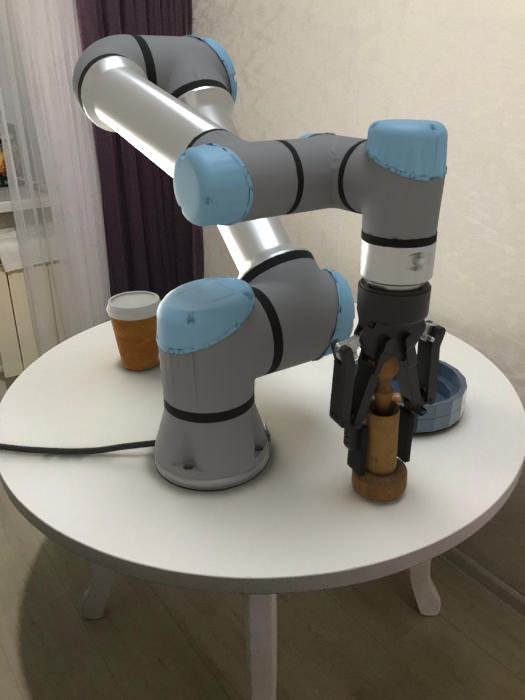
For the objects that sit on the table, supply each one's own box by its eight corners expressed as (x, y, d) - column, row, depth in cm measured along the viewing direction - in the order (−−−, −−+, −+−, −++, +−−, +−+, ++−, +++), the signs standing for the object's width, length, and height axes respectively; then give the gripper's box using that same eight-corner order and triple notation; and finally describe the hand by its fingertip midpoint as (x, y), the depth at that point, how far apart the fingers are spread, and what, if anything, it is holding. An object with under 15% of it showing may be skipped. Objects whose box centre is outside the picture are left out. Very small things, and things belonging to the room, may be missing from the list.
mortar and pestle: (395, 463, 75) (404, 337, 67) (414, 497, 70) (426, 365, 61) (345, 470, 75) (347, 344, 66) (360, 505, 69) (364, 372, 60)
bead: (396, 407, 86) (388, 393, 87) (392, 413, 88) (384, 399, 89) (410, 401, 87) (402, 387, 88) (405, 407, 89) (397, 393, 90)
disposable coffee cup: (103, 362, 105) (94, 298, 100) (149, 346, 111) (143, 286, 106) (130, 380, 99) (122, 313, 94) (178, 363, 104) (173, 299, 99)
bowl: (388, 449, 80) (391, 417, 78) (324, 392, 95) (325, 364, 92) (488, 420, 87) (493, 390, 84) (413, 370, 101) (416, 344, 99)
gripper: (335, 304, 55) (326, 502, 65) (490, 277, 62) (460, 460, 71) (298, 281, 61) (295, 465, 71) (442, 258, 68) (421, 429, 78)
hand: (378, 462), depth 71 cm, fingers closed on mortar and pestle, 6 cm apart
